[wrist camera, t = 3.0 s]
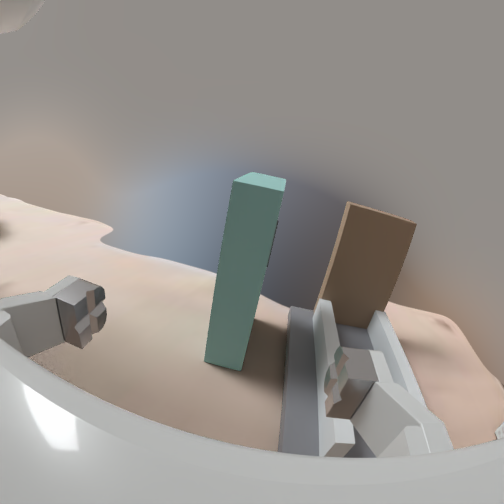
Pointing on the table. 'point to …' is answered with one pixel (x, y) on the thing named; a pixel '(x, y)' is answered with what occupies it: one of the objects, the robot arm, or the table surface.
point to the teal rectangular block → (242, 266)
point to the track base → (344, 331)
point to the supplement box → (500, 431)
